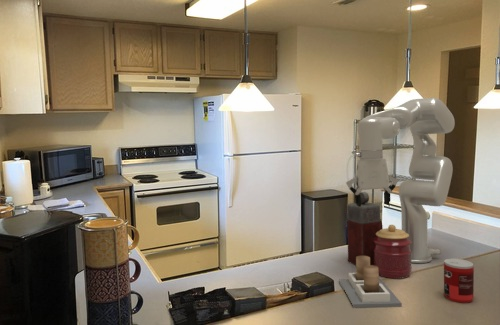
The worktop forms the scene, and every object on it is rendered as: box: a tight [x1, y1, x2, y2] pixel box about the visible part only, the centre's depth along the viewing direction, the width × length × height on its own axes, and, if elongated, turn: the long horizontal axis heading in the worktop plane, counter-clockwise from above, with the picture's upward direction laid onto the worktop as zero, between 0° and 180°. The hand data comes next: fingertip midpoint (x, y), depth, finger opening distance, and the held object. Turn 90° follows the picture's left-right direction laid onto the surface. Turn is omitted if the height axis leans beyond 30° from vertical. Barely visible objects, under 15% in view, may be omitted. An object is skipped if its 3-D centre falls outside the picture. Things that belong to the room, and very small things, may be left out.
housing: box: [338, 272, 402, 308], centre depth 124 cm, size 14×20×4 cm
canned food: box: [443, 258, 475, 304], centre depth 118 cm, size 8×8×11 cm
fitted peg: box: [355, 256, 370, 281], centre depth 129 cm, size 4×4×9 cm
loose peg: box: [363, 265, 380, 293], centre depth 119 cm, size 4×4×9 cm
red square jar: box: [346, 191, 384, 266], centre depth 153 cm, size 9×11×28 cm
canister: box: [373, 224, 413, 279], centre depth 141 cm, size 13×13×18 cm
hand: (372, 204), depth 134 cm, fingers open, 9 cm apart
